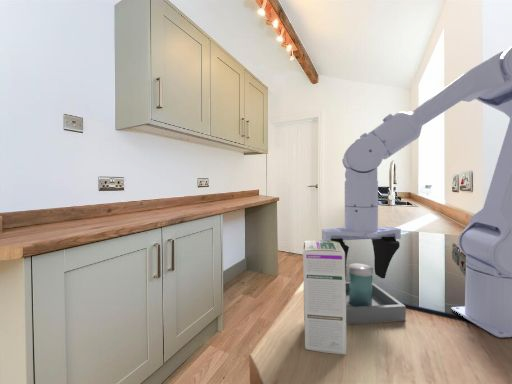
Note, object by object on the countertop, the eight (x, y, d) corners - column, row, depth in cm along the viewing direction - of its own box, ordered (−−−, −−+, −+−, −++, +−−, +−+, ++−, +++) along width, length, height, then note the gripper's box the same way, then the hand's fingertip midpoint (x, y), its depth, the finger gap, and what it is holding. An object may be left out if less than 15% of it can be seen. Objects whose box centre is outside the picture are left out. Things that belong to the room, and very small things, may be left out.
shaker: (364, 297, 47) (364, 262, 46) (377, 308, 43) (377, 270, 42) (344, 298, 46) (345, 263, 46) (355, 309, 42) (356, 271, 42)
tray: (370, 292, 50) (370, 280, 50) (405, 320, 40) (405, 306, 40) (323, 294, 49) (323, 283, 49) (346, 324, 39) (346, 309, 39)
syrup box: (347, 356, 32) (348, 250, 31) (303, 350, 33) (303, 248, 32) (340, 330, 37) (341, 240, 37) (303, 326, 38) (303, 239, 38)
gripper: (332, 209, 39) (332, 288, 40) (413, 207, 40) (412, 284, 41) (317, 205, 46) (318, 272, 47) (387, 203, 47) (386, 269, 48)
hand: (360, 277), depth 44 cm, fingers open, 7 cm apart
